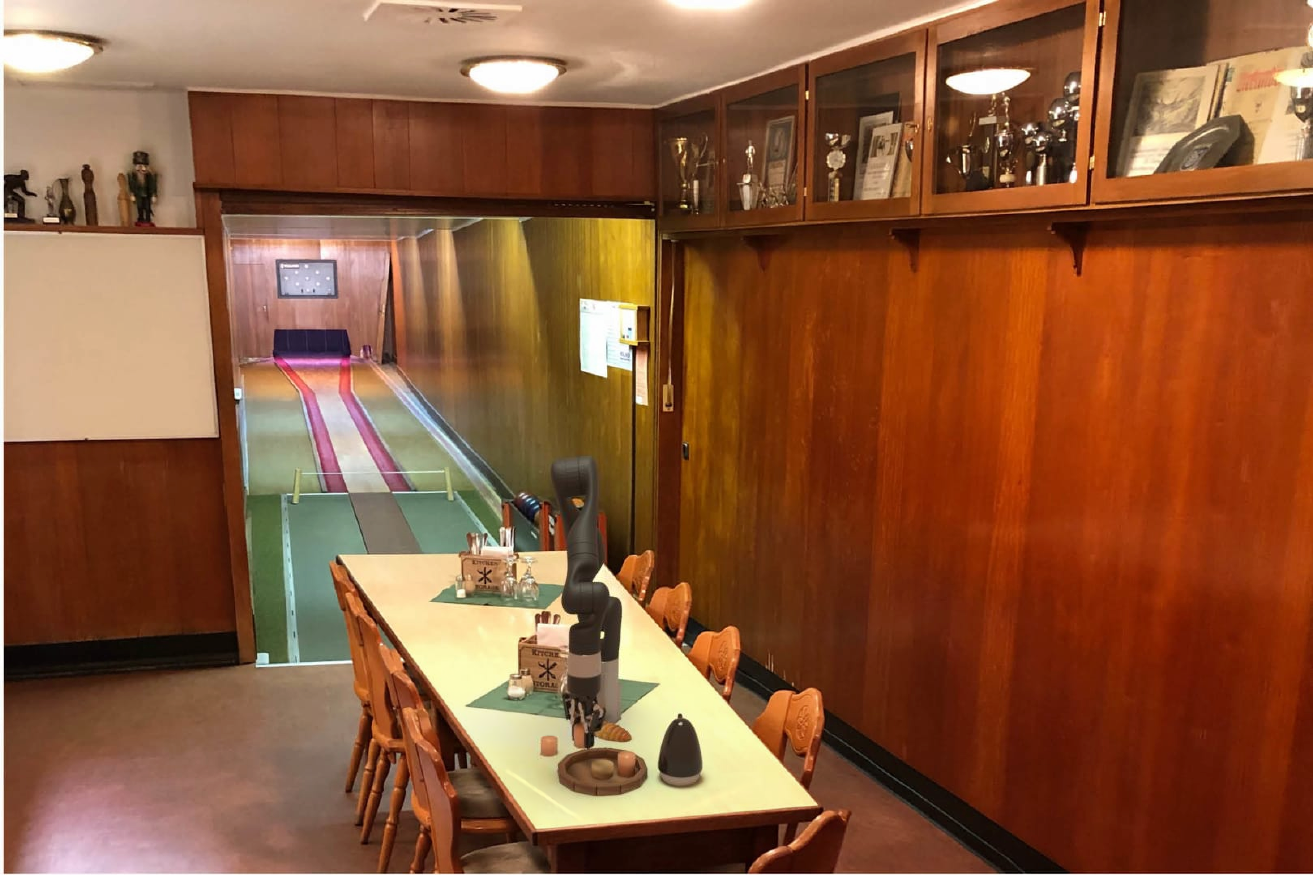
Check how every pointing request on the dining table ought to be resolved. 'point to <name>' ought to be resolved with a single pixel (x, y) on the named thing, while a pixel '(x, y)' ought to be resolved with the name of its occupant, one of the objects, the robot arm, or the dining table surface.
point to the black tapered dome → (680, 754)
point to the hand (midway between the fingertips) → (582, 743)
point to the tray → (591, 786)
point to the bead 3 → (626, 764)
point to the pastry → (613, 733)
